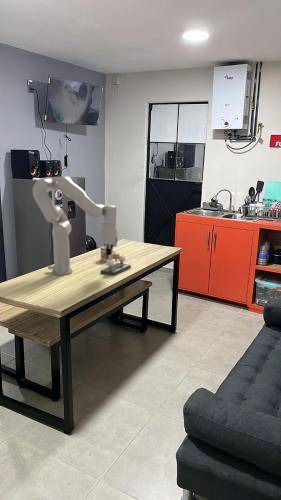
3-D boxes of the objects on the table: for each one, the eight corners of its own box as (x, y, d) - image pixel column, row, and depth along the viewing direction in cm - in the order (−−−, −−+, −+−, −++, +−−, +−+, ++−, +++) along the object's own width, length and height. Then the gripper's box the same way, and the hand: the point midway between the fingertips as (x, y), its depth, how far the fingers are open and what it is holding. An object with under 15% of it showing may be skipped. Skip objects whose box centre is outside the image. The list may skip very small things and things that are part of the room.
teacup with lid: (97, 260, 269) (97, 244, 267) (104, 257, 277) (104, 241, 274) (112, 262, 264) (112, 246, 261) (119, 259, 272) (119, 243, 269)
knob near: (111, 270, 236) (111, 262, 234) (105, 269, 238) (105, 261, 236) (115, 268, 239) (115, 260, 238) (109, 267, 241) (109, 259, 240)
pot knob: (117, 263, 241) (117, 254, 240) (111, 262, 243) (111, 254, 242) (120, 261, 245) (120, 253, 243) (114, 260, 247) (114, 252, 245)
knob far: (122, 265, 248) (122, 257, 246) (117, 264, 250) (117, 256, 248) (126, 263, 251) (126, 255, 250) (120, 262, 253) (120, 254, 252)
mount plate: (114, 275, 234) (114, 272, 233) (100, 273, 238) (100, 270, 238) (130, 267, 252) (130, 264, 251) (117, 265, 256) (117, 262, 256)
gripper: (96, 224, 232) (95, 253, 236) (116, 228, 226) (115, 257, 230) (102, 223, 239) (101, 251, 243) (123, 226, 232) (121, 255, 236)
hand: (108, 254), depth 236 cm, fingers closed
